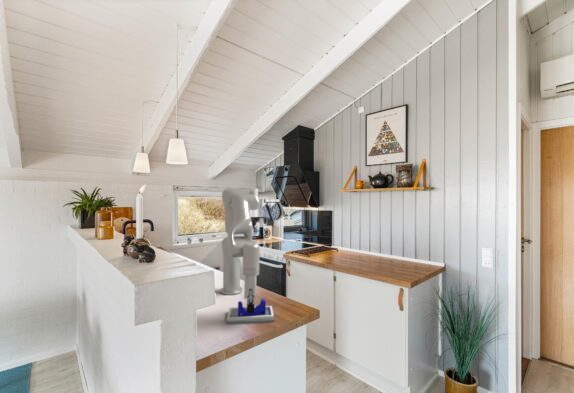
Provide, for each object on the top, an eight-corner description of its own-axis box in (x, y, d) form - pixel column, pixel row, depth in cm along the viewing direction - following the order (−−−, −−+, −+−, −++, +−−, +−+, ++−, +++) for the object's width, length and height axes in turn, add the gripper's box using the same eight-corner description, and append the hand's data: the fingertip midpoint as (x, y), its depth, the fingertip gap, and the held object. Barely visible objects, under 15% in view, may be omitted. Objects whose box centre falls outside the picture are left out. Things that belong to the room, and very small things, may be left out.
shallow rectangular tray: (229, 311, 132) (229, 306, 132) (271, 309, 135) (271, 305, 135) (226, 324, 118) (226, 319, 118) (274, 322, 121) (274, 316, 121)
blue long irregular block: (263, 310, 131) (263, 297, 131) (265, 314, 126) (265, 301, 127) (237, 313, 127) (237, 300, 127) (238, 317, 123) (239, 304, 123)
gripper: (243, 266, 135) (242, 302, 135) (242, 276, 118) (241, 317, 118) (258, 266, 136) (258, 301, 136) (259, 275, 119) (259, 316, 119)
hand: (250, 308), depth 127 cm, fingers open, 9 cm apart
